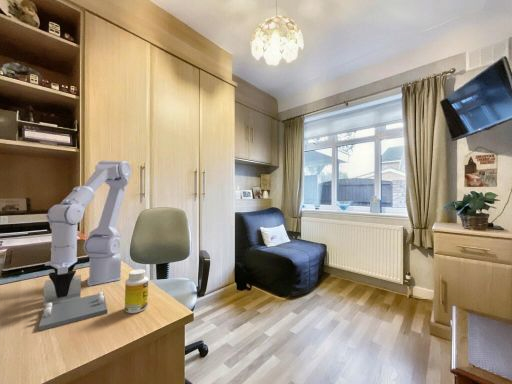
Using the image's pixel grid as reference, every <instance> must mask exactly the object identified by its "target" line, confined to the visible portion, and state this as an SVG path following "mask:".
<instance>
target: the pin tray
mask: <svg viewBox="0 0 512 384" xmlns="http://www.w3.org/2000/svg"><path fill="white" fill-rule="evenodd" d="M43 308H44V309H43V311H42V315H41V318H40V322H39V324H38V332H42V331H45V330H49V329H52V328H55V327H60V326H64V325H68V324H72V323H76V322H78V321H82V320H86V319H90V318H94V317H98V316H102V315H105V314H108V306H107V302H106V298H105V293H104V291H98V293H97V294H92V295H87V296H84V297H80V298H77V299H72V300H68V301H63V302H58V303H54V304H52V303H47V304H46V305H45V307H43Z"/></svg>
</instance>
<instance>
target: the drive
mask: <svg viewBox="0 0 512 384" xmlns="http://www.w3.org/2000/svg"><path fill="white" fill-rule="evenodd" d="M81 285H82V275H81V274H78V275H76V274H75V275H74V276H73V278H72V280H71V283H70V287H69V292H68V295H67V296H65V297H60V298H57V295H56V291H55V287H54V284H53V282H52V280H51V279H47V280H45V281H44V285H43V306H42V307H43V308H45V305H46V304H47V303H52V304H54V303H58V302H63V301H68V300H72V299H77V298H82V297H81V294H82V293H81V292H82V291H81V290H82V288H81V287H82V286H81Z"/></svg>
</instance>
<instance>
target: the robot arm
mask: <svg viewBox="0 0 512 384" xmlns="http://www.w3.org/2000/svg"><path fill="white" fill-rule="evenodd" d="M94 168H95V171H94V172H93V173H92V174H91V176H90V177H89V178H88V179H87V180H86V182H85V183H84V184H83V185H79V186H75V187H74V188H73V189H72V190H71V192H70V193H69V194H68V195H67V196H66V197H65V198H64V199H63V200H62V201H61V202H60V203H59V204H58V203H57V204H54V205H53V206H51V208H49V209H48V211H47V214H45V218H46V220H47V222H48V223H49V228H50V230H51V247H50V248H51V250H50V251H51V252H50V253H51V254H50V261H46V262H44V266H45V267H46V266H50V267H52V269H53V271H54V272H49V273H48V278H49V280H52V282H53V284H54V287H55V291H56V295H57V298H60V297H65V296H67V295H68V292H69V287H70V283H71V280H72V278H73V276H76V271H77V270H74V268H75V267H76V265H77V262H78V257H77V254H78V226H79V225H78V223H80V222H81V221H82V220H83V218H84V213H85V211H86V209H87V207H88V206H89V204H90V203H91V202H92V201H93V200H94V199H95V196H96V195H95V192H96V191H97V190H98V189H99V188H100V187H101V186H102V185H103V184H104V183H105V184H106V185H108V187H109V190H108V194H107V196H106V199H105V203H104V206H103V209H102V213H101V216H100V220H99V222H98V226H97V227H96V228H94V229H93V230H91V231H90V232H89V235H88V236H87V238H86V239H85V241H84V243H83V250H84V252H85V253H86V254H87V257H89V264H88V265H89V267H88V268H89V269H88V271H89V272H88V277H87V278H86V279H87V286H88V287H90V286H95V285H100V284H106V283H111V282H116V281H120V280H121V276H122V275H121V273H122V257H121V253H118V251H119V249H120V247H121V235H122V234H121V233H119V232H118V230H117V229H116V226H117V223H118V219H119V216H120V212H121V210H122V209H121V208H122V205H123V202H124V201H123V200H124V198H125V194H126V190H127V187H128V184H129V182H130V178H131V175H132V169H131V166H130V164H129V162H128V161H126V160H100V161H98V162H97V164H95V167H94Z"/></svg>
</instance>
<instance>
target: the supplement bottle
mask: <svg viewBox="0 0 512 384" xmlns="http://www.w3.org/2000/svg"><path fill="white" fill-rule="evenodd" d="M124 288H125V290H124V291H125V293H124V294H125V295H124V310H125V312H126V313H127V314H136V313H140V312H142V311H144V310H145V309H147V308H148V303H149V301H148V300H149V277H148V276H146V270H145V269H142V268H138V269H134V270H130V271H129V274H128V278H127V279H126V281H125V287H124Z"/></svg>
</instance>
